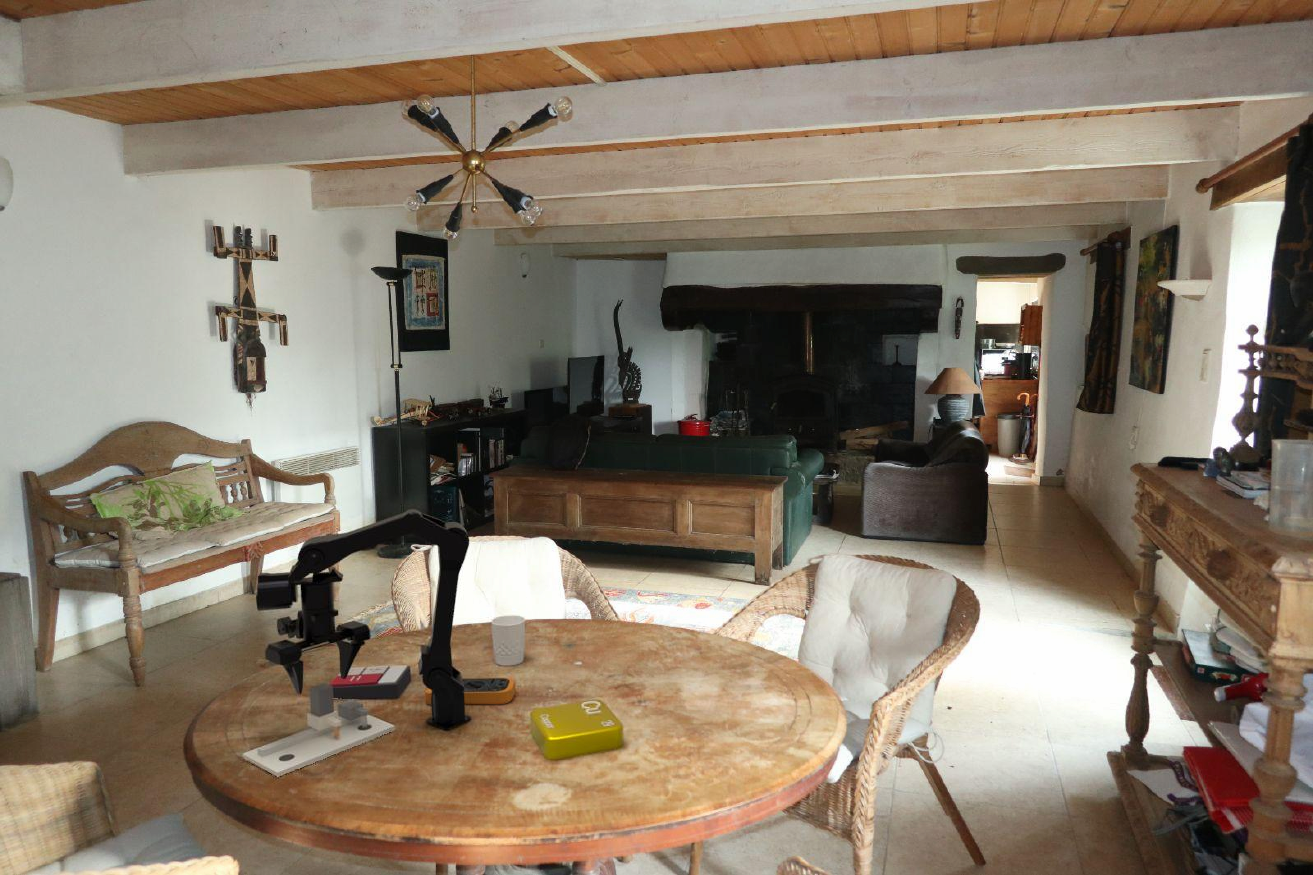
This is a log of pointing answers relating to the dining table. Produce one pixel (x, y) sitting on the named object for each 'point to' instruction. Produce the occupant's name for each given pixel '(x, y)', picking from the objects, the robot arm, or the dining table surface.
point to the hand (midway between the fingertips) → (321, 685)
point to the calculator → (372, 682)
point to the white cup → (508, 639)
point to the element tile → (575, 729)
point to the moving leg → (323, 709)
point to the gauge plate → (320, 741)
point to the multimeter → (484, 691)
